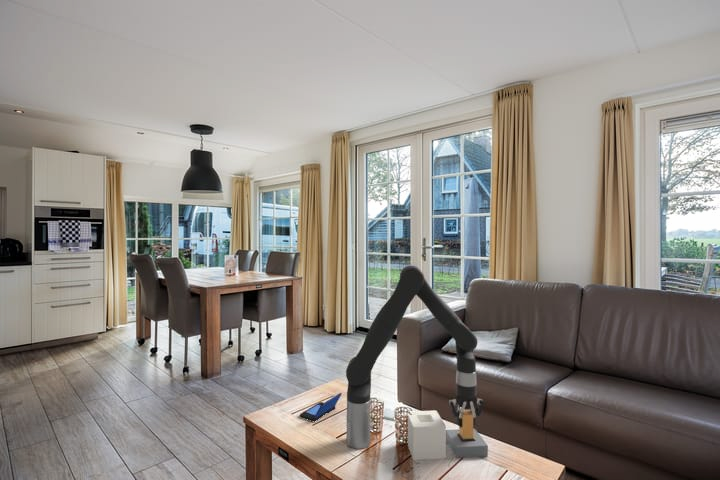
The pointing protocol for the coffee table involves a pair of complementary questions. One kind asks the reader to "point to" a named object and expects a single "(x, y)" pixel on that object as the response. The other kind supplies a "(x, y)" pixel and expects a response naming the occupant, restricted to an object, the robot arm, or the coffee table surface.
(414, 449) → the upper stand
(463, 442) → the lower base
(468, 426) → the plug
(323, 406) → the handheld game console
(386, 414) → the hard drive
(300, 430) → the coffee table surface
